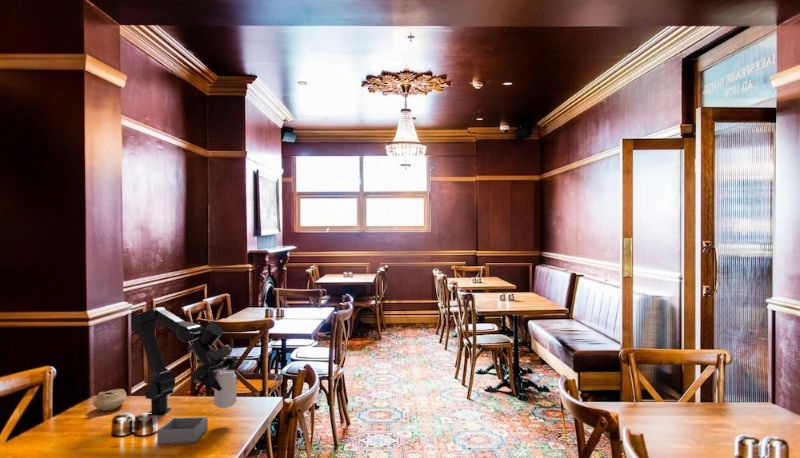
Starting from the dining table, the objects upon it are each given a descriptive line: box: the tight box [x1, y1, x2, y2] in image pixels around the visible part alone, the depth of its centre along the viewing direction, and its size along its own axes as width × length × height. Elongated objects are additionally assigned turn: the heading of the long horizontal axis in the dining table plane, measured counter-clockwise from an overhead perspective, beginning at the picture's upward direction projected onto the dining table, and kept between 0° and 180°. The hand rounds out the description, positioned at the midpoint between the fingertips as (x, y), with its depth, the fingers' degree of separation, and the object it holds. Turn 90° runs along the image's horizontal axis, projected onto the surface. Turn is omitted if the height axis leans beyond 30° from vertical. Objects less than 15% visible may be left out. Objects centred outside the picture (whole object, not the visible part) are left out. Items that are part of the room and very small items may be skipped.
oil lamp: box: [92, 388, 127, 412], centre depth 205 cm, size 11×15×8 cm
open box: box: [156, 416, 209, 446], centre depth 173 cm, size 12×12×4 cm
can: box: [213, 370, 237, 409], centre depth 185 cm, size 8×8×12 cm
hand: (228, 387), depth 185 cm, fingers closed on can, 7 cm apart
